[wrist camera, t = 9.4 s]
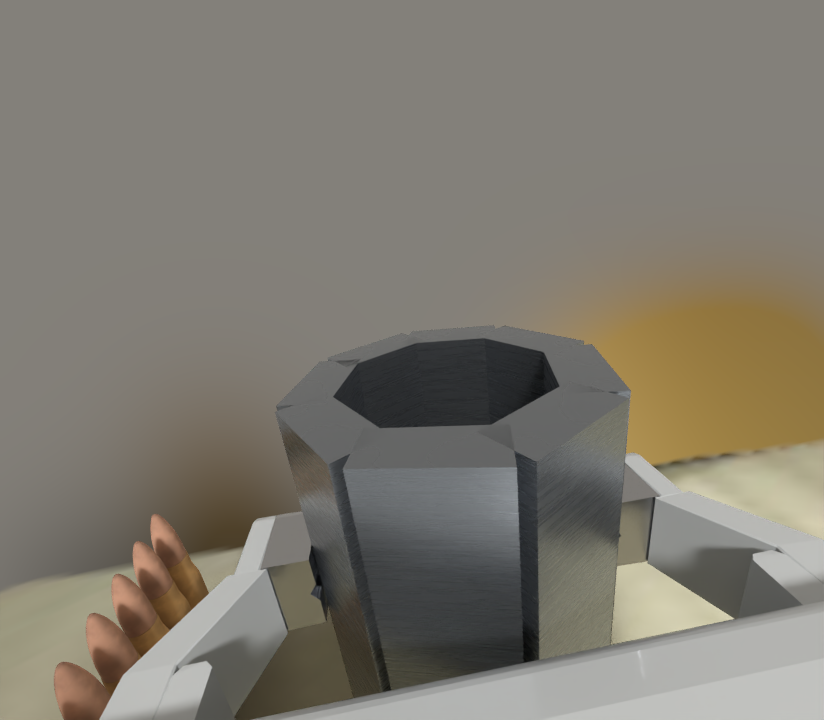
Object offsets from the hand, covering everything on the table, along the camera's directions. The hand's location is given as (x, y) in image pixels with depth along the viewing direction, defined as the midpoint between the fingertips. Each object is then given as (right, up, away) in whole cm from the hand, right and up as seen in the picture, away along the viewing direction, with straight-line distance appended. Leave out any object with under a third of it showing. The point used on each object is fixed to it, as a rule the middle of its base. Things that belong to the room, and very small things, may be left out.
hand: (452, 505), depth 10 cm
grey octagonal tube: (+1, -5, +1) cm, 5 cm away
